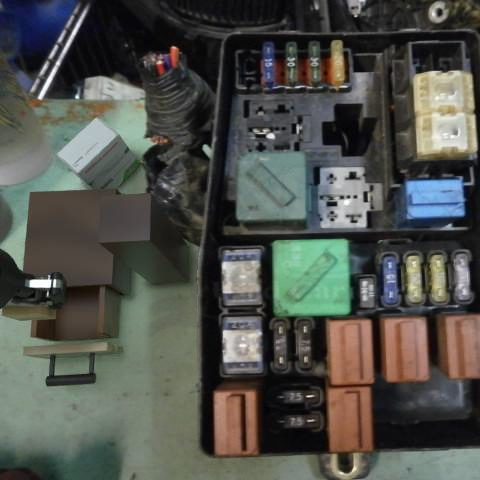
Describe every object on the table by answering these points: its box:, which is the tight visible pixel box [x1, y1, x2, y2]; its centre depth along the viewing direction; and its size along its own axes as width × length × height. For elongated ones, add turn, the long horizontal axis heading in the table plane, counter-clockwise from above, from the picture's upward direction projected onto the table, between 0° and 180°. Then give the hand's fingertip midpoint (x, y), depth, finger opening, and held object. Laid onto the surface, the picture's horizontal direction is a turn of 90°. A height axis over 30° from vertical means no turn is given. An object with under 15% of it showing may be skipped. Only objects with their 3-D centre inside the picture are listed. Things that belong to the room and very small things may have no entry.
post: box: [98, 192, 190, 285], centre depth 75 cm, size 6×6×24 cm
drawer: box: [22, 285, 124, 388], centre depth 79 cm, size 18×11×7 cm, turn 4°
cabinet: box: [22, 188, 133, 297], centre depth 83 cm, size 15×13×9 cm
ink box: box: [56, 116, 141, 189], centre depth 85 cm, size 9×5×12 cm, turn 141°
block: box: [1, 277, 56, 322], centre depth 66 cm, size 4×4×4 cm
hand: (38, 302), depth 67 cm, fingers closed on block, 4 cm apart
